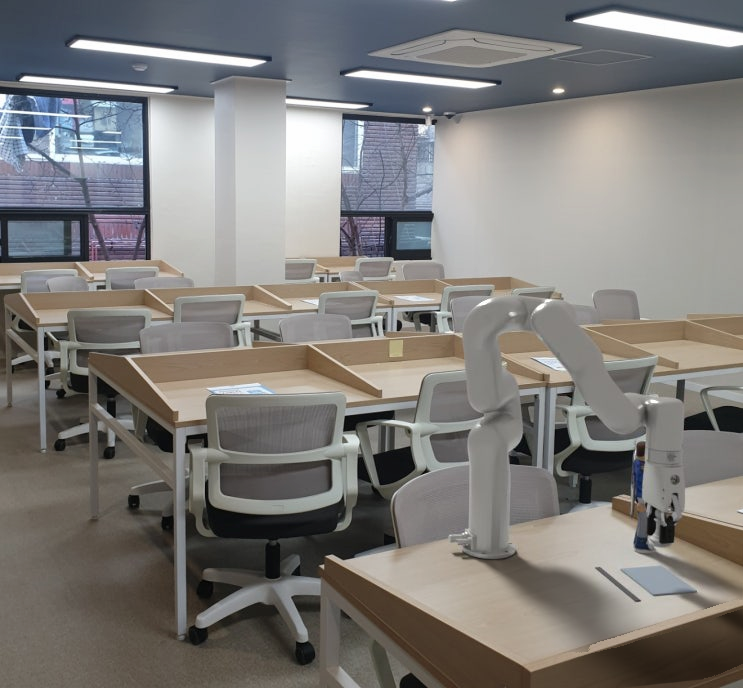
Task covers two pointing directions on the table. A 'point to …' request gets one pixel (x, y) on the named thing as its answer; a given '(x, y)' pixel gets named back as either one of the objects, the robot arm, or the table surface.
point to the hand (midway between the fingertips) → (660, 538)
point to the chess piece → (657, 532)
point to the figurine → (639, 500)
